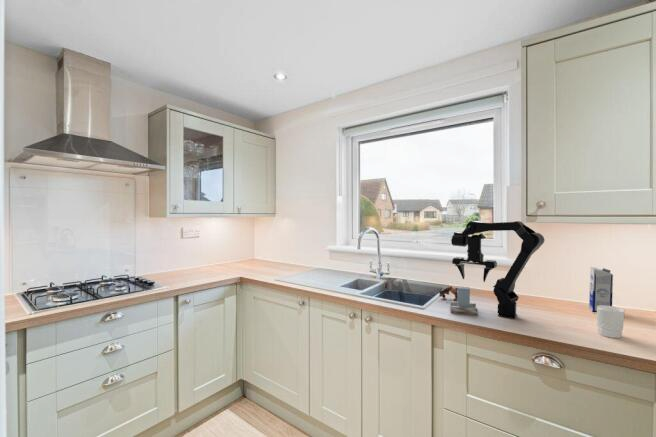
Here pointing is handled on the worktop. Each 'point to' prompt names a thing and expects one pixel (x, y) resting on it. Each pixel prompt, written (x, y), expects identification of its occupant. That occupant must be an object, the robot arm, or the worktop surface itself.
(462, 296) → the grey rectangular block
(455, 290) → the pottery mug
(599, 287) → the milk carton
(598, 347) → the worktop surface
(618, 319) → the white cup
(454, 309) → the bottom track
